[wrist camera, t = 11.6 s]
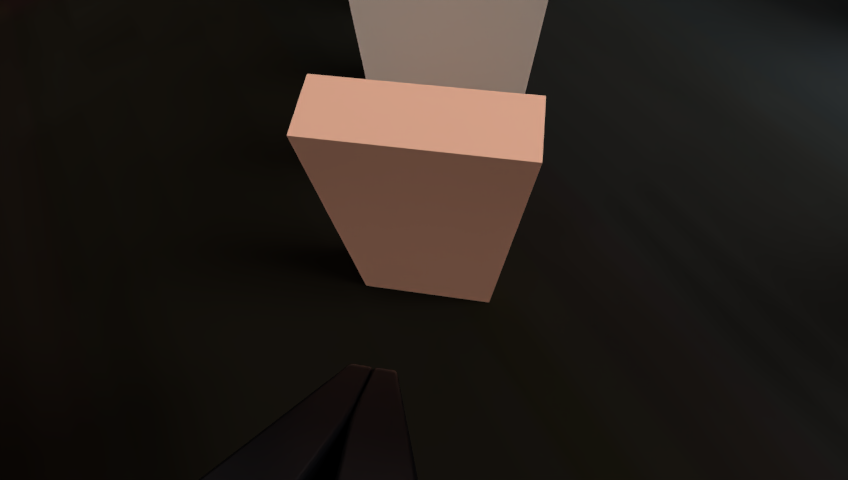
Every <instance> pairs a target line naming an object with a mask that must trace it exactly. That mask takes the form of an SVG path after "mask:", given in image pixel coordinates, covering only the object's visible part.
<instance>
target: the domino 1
mask: <svg viewBox="0 0 848 480" xmlns="http://www.w3.org/2000/svg"><path fill="white" fill-rule="evenodd" d="M547 3H548V0H349V4H350V9H351V13H352V18H353V22H354V27H355V31H356V36H357V40H358V45H359V50H360V54H361V59H362V63H363V68H364V72H365V77H366V79H369V80H380V81H390V82H401V83H412V84H423V85H434V86H444V87H455V88H466V89H477V90H488V91H498V92H509V93H520V94H525V91H526V87H527V83H528V79H529V75H530V71H531V67H532V63H533V59H534V55H535V51H536V47H537V43H538V39H539V35H540V31H541V27H542V23H543V19H544V15H545V11H546V7H547Z"/></svg>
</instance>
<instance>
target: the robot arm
mask: <svg viewBox="0 0 848 480" xmlns="http://www.w3.org/2000/svg"><path fill="white" fill-rule="evenodd" d="M199 480H418V477H417V472H416V467H415V462H414V457H413V452H412V447H411V442H410V437H409V431H408V426H407V421H406V416H405V411H404V406H403V401H402V396H401V391H400V385H399V380H398V375H397V373H396V372H395V371H394V370H387V369H381V368H375V369H374V370H373V369H372V368H371V367H369V366H362V365H356V364H350V365H348V366H347V367H345V368H344V369H343V370H341V371H340V372H339V373H337V374H336V375H335V376H334V377H332V378H331V379H330V380H328V381H327V382H326V383H324V384H323V385H322V386H321V387H319V388H318V389H317V390H315V391H314V392H313V393H311V394H310V395H309V396H307V397H306V398H305V399H304V400H302V401H301V402H300V403H298V404H297V405H296V406H294V407H293V408H292V409H290V410H289V411H288V412H287V413H285V414H284V415H283V416H281V417H280V418H279V419H277V420H276V421H275V422H273V423H272V424H271V425H270V426H268V427H267V428H266V429H264V430H263V431H262V432H260V433H259V434H258V435H257V436H255V437H254V438H253V439H251V440H250V441H249V442H247V443H246V444H245V445H243V446H242V447H241V448H240V449H238V450H237V451H236V452H234V453H233V454H232V455H230V456H229V457H228V458H226V459H225V460H224V461H223V462H221V463H220V464H219V465H217V466H216V467H215V468H213V469H212V470H211V471H209V472H208V473H207V474H206V475H204V476H203V477H202V478H200V479H199Z"/></svg>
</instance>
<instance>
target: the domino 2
mask: <svg viewBox="0 0 848 480" xmlns="http://www.w3.org/2000/svg"><path fill="white" fill-rule="evenodd" d="M545 104H546V96H542V95H531V94H520V93H509V92H498V91H488V90H477V89H466V88H455V87H444V86H434V85H423V84H412V83H401V82H390V81H380V80H369V79H358V78H347V77H336V76H326V75H315V74H307V75H306V79H305V82H304V85H303V88H302V91H301V94H300V97H299V100H298V103H297V106H296V109H295V112H294V115H293V118H292V121H291V124H290V127H289V130H288V133H287V137H288V139H289V141H290V143H291V145H292V147H293V149H294V150H295V152H296V154H297V156H298V158H299V160H300V162H301V164H302V165H303V167H304V169H305V171H306V173H307V175H308V177H309V179H310V181H311V182H312V184H313V186H314V188H315V190H316V192H317V194H318V196H319V198H320V199H321V201H322V203H323V205H324V207H325V209H326V211H327V213H328V214H329V216H330V218H331V220H332V222H333V224H334V226H335V228H336V230H337V231H338V233H339V235H340V237H341V239H342V241H343V243H344V245H345V247H346V248H347V250H348V252H349V254H350V256H351V258H352V260H353V262H354V263H355V265H356V267H357V269H358V271H359V273H360V275H361V277H362V279H363V280H364V282H365V284H366V286H373V287H380V288H388V289H395V290H402V291H409V292H417V293H424V294H431V295H439V296H446V297H453V298H460V299H468V300H475V301H482V302H489V301H490V298H491V296H492V293H493V290H494V288H495V285H496V283H497V280H498V277H499V275H500V272H501V269H502V267H503V264H504V262H505V259H506V256H507V254H508V251H509V249H510V246H511V243H512V241H513V238H514V235H515V233H516V230H517V228H518V225H519V222H520V220H521V217H522V215H523V212H524V209H525V207H526V204H527V201H528V199H529V196H530V194H531V191H532V188H533V186H534V183H535V181H536V178H537V175H538V173H539V170H540V167H541V165H542V158H543V140H544V122H545Z"/></svg>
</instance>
